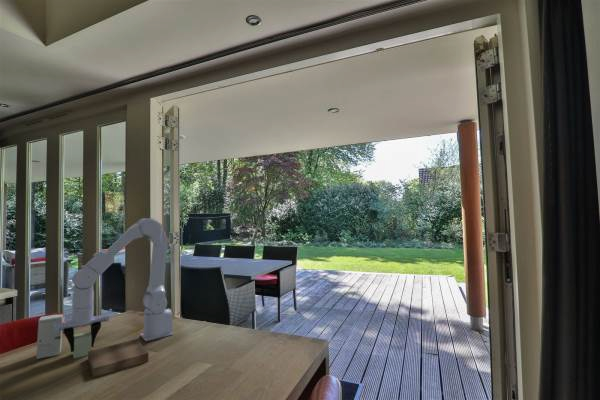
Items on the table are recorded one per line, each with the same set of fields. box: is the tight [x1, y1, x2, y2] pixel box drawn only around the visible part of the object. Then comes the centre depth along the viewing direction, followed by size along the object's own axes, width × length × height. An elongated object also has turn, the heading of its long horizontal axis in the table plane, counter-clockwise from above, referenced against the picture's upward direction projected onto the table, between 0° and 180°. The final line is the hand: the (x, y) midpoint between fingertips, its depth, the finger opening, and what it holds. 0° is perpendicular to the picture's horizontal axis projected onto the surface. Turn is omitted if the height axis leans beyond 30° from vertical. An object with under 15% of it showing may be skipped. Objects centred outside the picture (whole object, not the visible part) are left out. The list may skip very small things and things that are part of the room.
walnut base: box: [87, 338, 149, 378], centre depth 93 cm, size 14×14×2 cm
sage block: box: [72, 331, 92, 359], centre depth 98 cm, size 4×4×6 cm
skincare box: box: [35, 313, 64, 360], centre depth 98 cm, size 6×4×12 cm
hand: (82, 348), depth 97 cm, fingers closed on sage block, 4 cm apart
